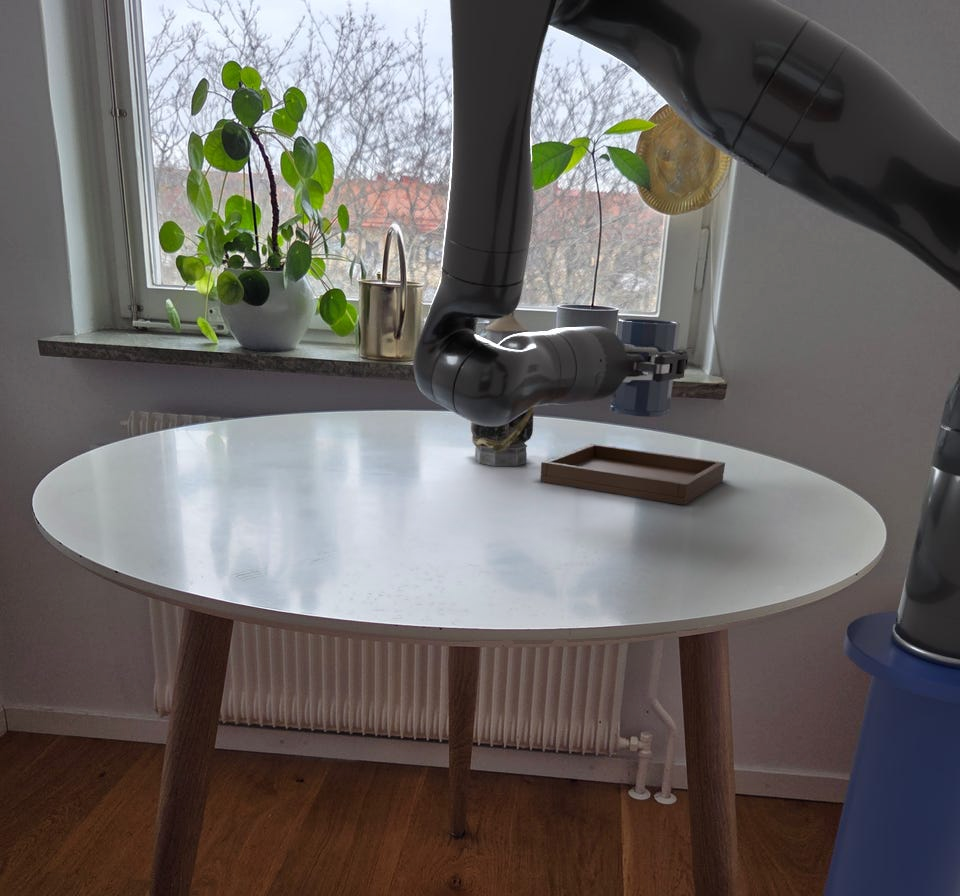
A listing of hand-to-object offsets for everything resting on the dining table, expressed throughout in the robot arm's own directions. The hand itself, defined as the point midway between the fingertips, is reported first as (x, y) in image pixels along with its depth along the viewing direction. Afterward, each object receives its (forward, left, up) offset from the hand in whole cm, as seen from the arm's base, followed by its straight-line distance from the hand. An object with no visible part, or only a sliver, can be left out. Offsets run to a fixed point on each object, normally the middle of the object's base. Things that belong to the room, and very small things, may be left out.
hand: (654, 357), depth 108 cm
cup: (0, +2, -6) cm, 6 cm away
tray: (0, +2, -14) cm, 14 cm away
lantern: (+18, +2, -14) cm, 23 cm away
